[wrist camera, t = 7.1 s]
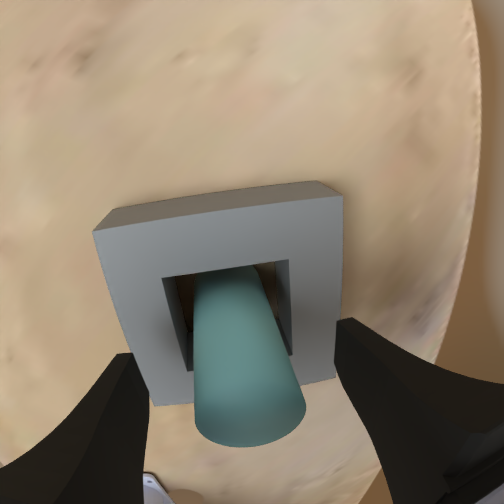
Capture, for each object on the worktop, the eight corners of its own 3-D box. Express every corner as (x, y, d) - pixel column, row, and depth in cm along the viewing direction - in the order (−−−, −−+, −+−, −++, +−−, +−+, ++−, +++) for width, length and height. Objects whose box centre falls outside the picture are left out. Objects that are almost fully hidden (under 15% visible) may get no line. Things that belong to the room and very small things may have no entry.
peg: (261, 309, 16) (303, 437, 9) (199, 317, 16) (205, 452, 9) (257, 251, 15) (308, 371, 8) (189, 260, 15) (183, 389, 8)
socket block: (317, 342, 18) (335, 377, 15) (158, 367, 17) (154, 406, 14) (316, 180, 14) (342, 195, 11) (112, 209, 13) (92, 231, 11)
